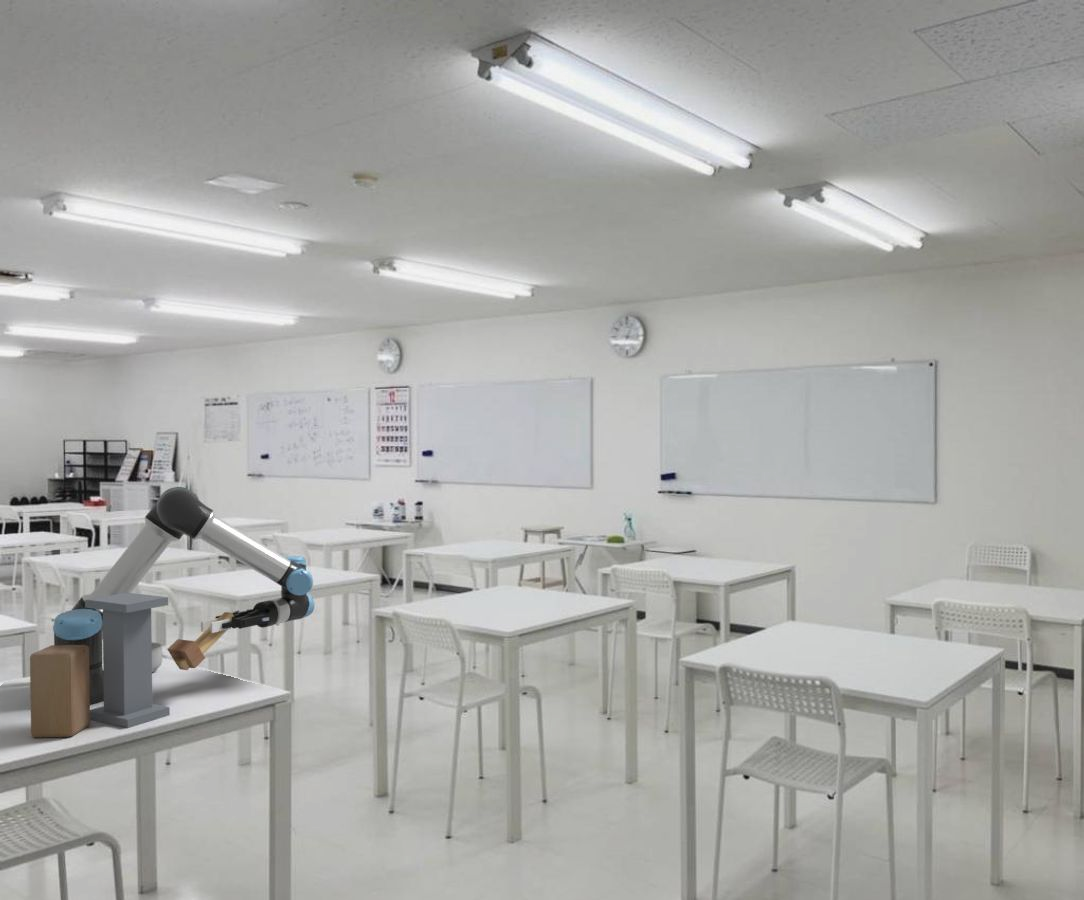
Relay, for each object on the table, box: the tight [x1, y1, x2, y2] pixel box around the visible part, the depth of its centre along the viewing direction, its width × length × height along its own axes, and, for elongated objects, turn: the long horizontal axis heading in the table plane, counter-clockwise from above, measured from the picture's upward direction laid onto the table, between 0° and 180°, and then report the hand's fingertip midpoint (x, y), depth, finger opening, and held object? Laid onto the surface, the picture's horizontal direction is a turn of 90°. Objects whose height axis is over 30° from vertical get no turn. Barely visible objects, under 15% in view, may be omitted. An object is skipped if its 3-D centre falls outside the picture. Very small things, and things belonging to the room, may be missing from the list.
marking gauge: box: [167, 611, 234, 671], centre depth 253 cm, size 7×20×6 cm
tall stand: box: [85, 592, 171, 729], centre depth 233 cm, size 16×12×30 cm
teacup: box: [152, 641, 163, 673], centre depth 279 cm, size 14×11×8 cm
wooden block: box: [29, 644, 91, 739], centre depth 221 cm, size 10×10×20 cm
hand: (206, 627), depth 254 cm, fingers closed on marking gauge, 3 cm apart
